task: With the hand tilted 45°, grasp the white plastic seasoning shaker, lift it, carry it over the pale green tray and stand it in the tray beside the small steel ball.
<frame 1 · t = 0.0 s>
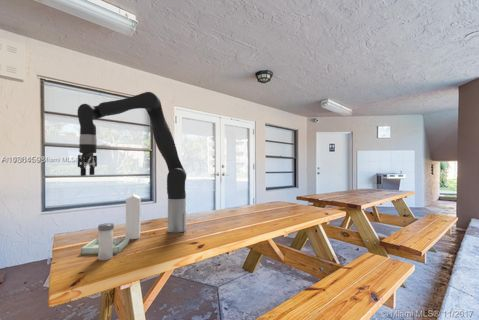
hand: (87, 175, 125), 29 cm above the table, tool pointing down, fingers open, 8 cm apart
milk: (133, 237, 117), on the table
shaker: (105, 257, 92), on the table
tray: (106, 248, 102), on the table
ball: (119, 241, 105), point 2 cm above the table, touching tray
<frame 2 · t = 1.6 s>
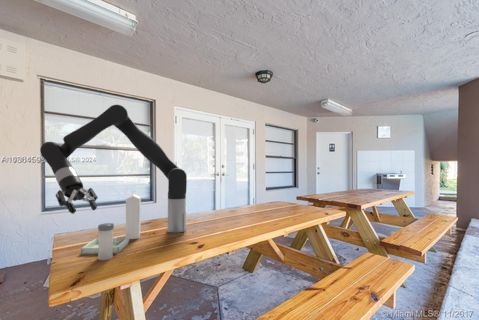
hand: (85, 210, 98), 17 cm above the table, tool tilted 45°, fingers open, 8 cm apart
nothing on the table moved.
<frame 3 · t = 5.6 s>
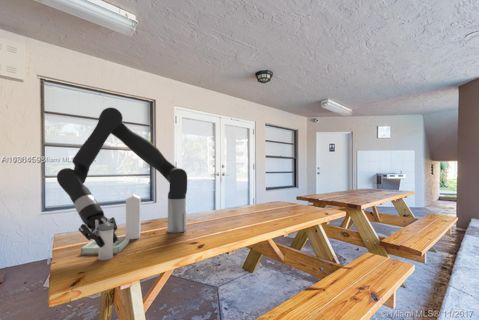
hand: (109, 243, 92), 6 cm above the table, tool tilted 45°, fingers closed on shaker, 4 cm apart
shaker: (105, 257, 92), on the table, touching gripper
everything else where it was.
when the fingers open (8 cm above the table, at t = 10.4 s): shaker drops 2 cm, resting on tray.
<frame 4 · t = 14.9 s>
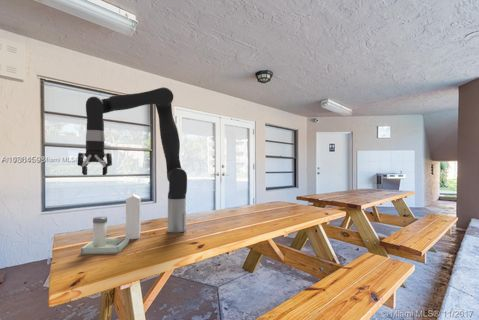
hand: (94, 175, 114), 30 cm above the table, tool pointing down, fingers open, 8 cm apart
shaker: (99, 248, 101), point 1 cm above the table, touching tray
everything else where it was.
at the end: shaker inside the target area on the tray (2.6 cm from its centre), point 0.7 cm above the tray's base; shaker tilted 1°; the gripper is holding nothing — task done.
